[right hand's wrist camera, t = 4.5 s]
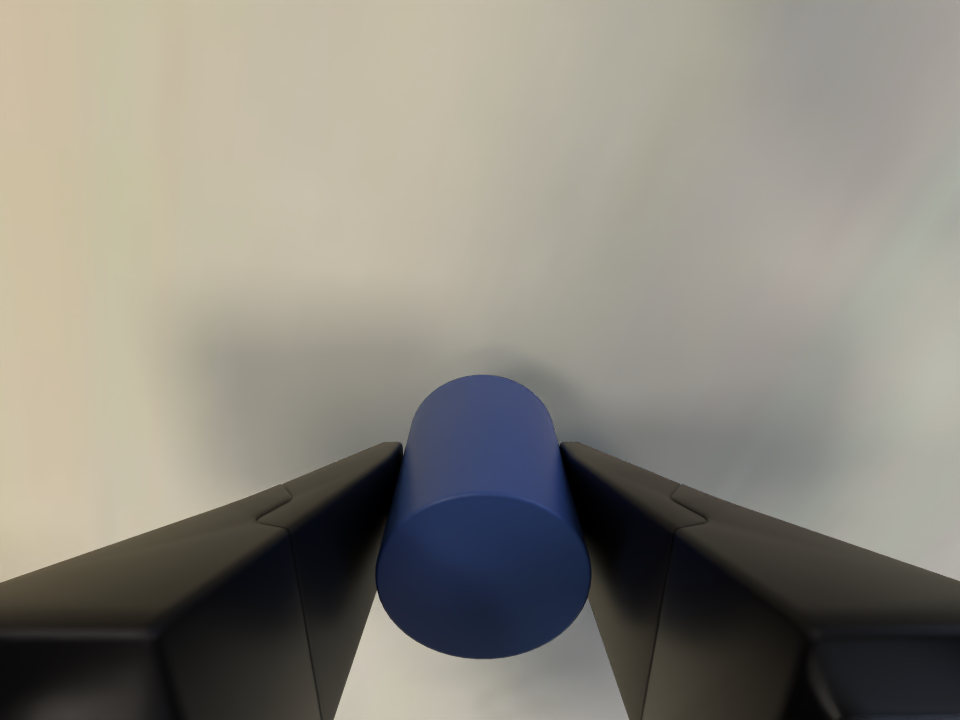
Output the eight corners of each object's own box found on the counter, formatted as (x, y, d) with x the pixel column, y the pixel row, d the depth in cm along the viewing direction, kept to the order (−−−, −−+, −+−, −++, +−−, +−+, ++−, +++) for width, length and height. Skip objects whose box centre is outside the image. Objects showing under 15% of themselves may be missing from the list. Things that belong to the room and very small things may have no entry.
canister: (409, 496, 13) (376, 656, 9) (410, 369, 12) (372, 487, 7) (546, 502, 13) (577, 664, 9) (562, 377, 12) (607, 499, 8)
